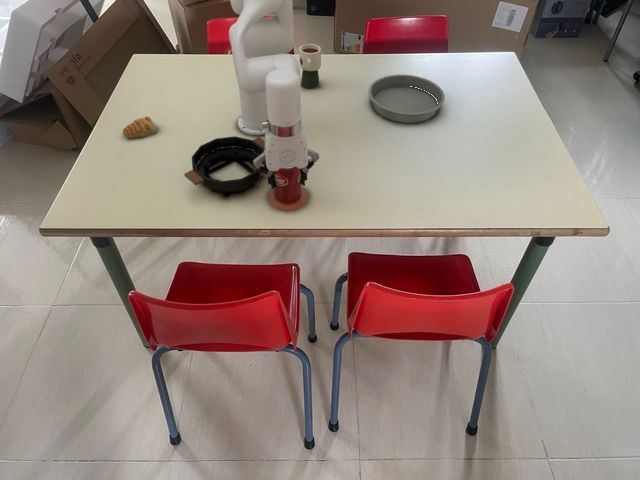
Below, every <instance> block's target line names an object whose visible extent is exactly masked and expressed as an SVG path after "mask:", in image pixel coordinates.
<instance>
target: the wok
mask: <svg viewBox="0 0 640 480" xmlns="http://www.w3.org/2000/svg"><path fill="white" fill-rule="evenodd" d="M264 151H265V139H263V138H261V137H260V136H258V137H255V138H254V139H250V138H245V137H240V136H234V135H233V136H225V137H217V138H214V139H212V140H210V141H208V142H206V143H204V144H201V145H199V147H198V148H197V150H196V151H195V152H194V153H193V154H192V155H191V166H192V167H191V170H189V171H188V172H184V173H183V176H184V177H185V178H186V179H188V181H190V183H192V184H193V185H194V186H197V185H200V184H201V185H202V186H203V187H205V188H207V189H208V190H210V191H211V193H216V194H218V195H222V196H223V197H225V198H229V197H230V196H232V195H237V194H238V195H239V194H244V193H246V192H247V191H249V190H251V189H252V188H254V187H255V186H256V185H257V184H258V182H259V181H260V180H261V179H264V176H263V175H265V174H264V173H263V172H261V171H260V170H259V169H258V168H256V167H255V166H254V165H253V160H254V159H256V158H257V157H258V156H259V155H261V154H262V153H263V152H264ZM233 163H236V164H238V165H239V166H240V167H241V168H243V169H244V170H245V171H247V172H248V173H249V174H248V175H246V176H244V177H242V178H236V179H227V180H220V179H215V178H213V177H212V176H210V175H211V174H213V173H215V172H217V171H219V170H222V169H223V168H225V167H227V166H229V165H231V164H233ZM247 163H248V164H247ZM261 164H264V165H265V166H267V165H266V160H264V161H263V162H262V163H261ZM250 165H251V166H250Z"/></svg>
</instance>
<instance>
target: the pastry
mask: <svg viewBox="0 0 640 480" xmlns="http://www.w3.org/2000/svg"><path fill="white" fill-rule="evenodd" d="M156 132H157V126H156V125H155V123H154V121H153V120H152V118H151V117H150V116H148V115H145V116H144V117H141V118H136V119H134V120H133V121H132V122H131V123H129V124H128V125H126V126H125V127H124V128H123V130H122V134H123V136H124V137H126V138H128V139H136V138H143V137H148V135H153V134H155V133H156Z"/></svg>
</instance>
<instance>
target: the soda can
mask: <svg viewBox="0 0 640 480" xmlns="http://www.w3.org/2000/svg"><path fill="white" fill-rule="evenodd" d="M273 177H274V197H275V199H276V200H277V201H279V202H280V203H283V204H292V203H295V202H297V201H298V200H299V199H300V198H301V196H302V188H303V185H302V176H301V168H299V169H298V167H295V166H294V167H286V168H280V169H279V170H278V171H274V172H273Z"/></svg>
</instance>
